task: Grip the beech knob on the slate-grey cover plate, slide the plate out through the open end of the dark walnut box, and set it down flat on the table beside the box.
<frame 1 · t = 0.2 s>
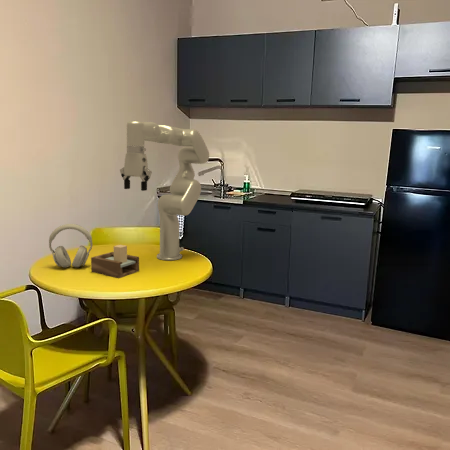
hand: (135, 189, 202), 36 cm above the table, tool pointing down, fingers open, 9 cm apart
cover plate: (116, 263, 201), point 4 cm above the table, touching walnut box
headphones: (71, 267, 208), on the table
walnut box: (115, 271, 202), on the table
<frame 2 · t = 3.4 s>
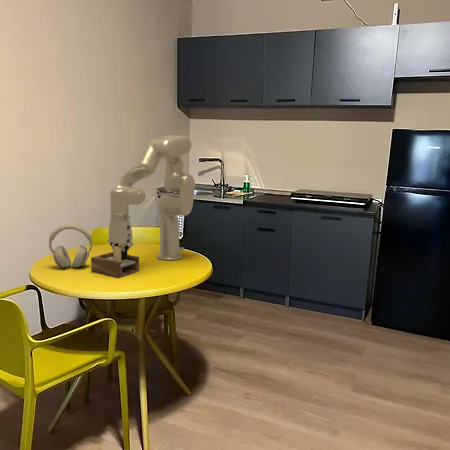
hand: (120, 258, 200), 6 cm above the table, tool pointing down, fingers closed on cover plate, 4 cm apart
cover plate: (116, 263, 201), point 4 cm above the table, touching gripper, walnut box
everything else where it was.
when the fingers open (3 cm above the table, at t = 8.6 s): cover plate drops 1 cm, on the table.
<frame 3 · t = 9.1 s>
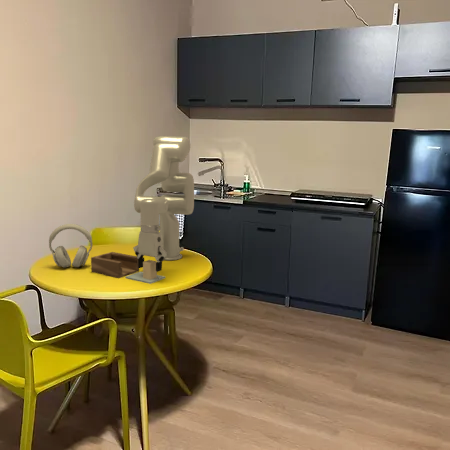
hand: (150, 269, 192), 4 cm above the table, tool pointing down, fingers open, 9 cm apart
cover plate: (145, 278, 194), on the table
everything else where it was.
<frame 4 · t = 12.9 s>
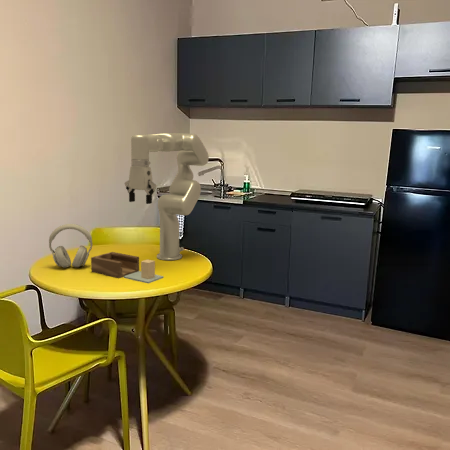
hand: (140, 202, 203), 30 cm above the table, tool pointing down, fingers open, 9 cm apart
nothing on the table moved.
at the end: cover plate inside the target area (3.1 cm from its centre), on the table; cover plate tilted 0°; the gripper is holding nothing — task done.
